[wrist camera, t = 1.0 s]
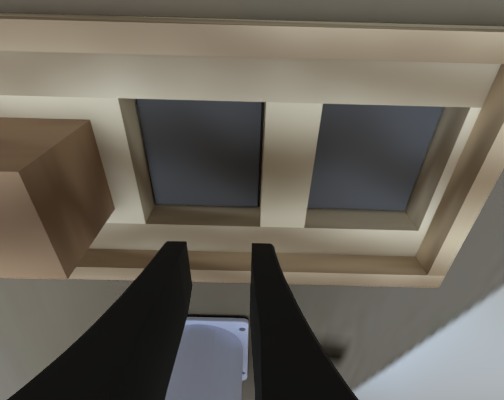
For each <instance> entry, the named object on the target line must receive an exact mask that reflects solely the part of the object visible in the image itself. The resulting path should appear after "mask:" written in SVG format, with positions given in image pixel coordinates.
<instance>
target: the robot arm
mask: <svg viewBox="0 0 504 400" xmlns="http://www.w3.org/2000/svg"><path fill="white" fill-rule="evenodd" d="M191 290H192V280H191V272H190V264H189V256H188V249H187V241H167V242H166V243H164V245H163V246H162V247H161V249H160V250H159V251H158V252H157V254H156V255H155V256H154V257H153V259H152V260H151V261H150V262H149V264H148V265H147V266H146V267H145V268H144V270H143V271H142V272H141V273H140V275H139V276H138V277H137V278H136V279H135V280H134V281H133V283H132V284H131V285H130V286H129V287H128V288H127V289H126V291H125V292H124V293H123V294H122V295H121V296H120V297H119V298H118V299H117V301H116V302H115V303H114V304H113V305H112V306H111V307H110V308H109V309H108V310H107V311H106V312H105V313H104V314H103V315H102V316H101V317H100V318H99V319H98V320H97V321H96V322H95V323H94V324H93V325H92V326H91V327H90V328H89V329H88V330H87V331H86V332H85V333H84V334H83V335H82V336H81V337H80V338H79V339H78V340H77V341H76V342H75V343H73V344H72V345H71V346H70V347H69V348H68V349H67V350H66V351H65V352H64V353H63V354H61V355H60V356H59V357H58V358H57V359H56V360H54V361H53V362H52V363H51V364H50V365H49V366H47V367H46V368H45V369H44V370H43V371H42V372H40V373H39V374H38V375H37V376H36V377H35V378H33V379H32V380H31V381H30V382H29V383H27V384H26V385H25V386H24V387H22V388H21V389H20V390H19V391H17V392H16V393H15V394H14V395H12V396H11V397H10V398H9V399H7V400H242V381H243V380H246V379H247V364H248V327H249V322H248V320H247V319H245V318H216V317H187V315H188V309H189V303H190V297H191ZM250 327H251V341H252V355H253V369H254V383H255V400H358V398H357V397H356V396H355V394H354V393H353V392H352V390H351V389H350V388H349V386H348V385H347V384H346V382H345V381H344V379H343V378H342V376H341V375H340V374H339V372H338V371H337V369H336V368H335V366H334V365H333V363H332V362H331V360H330V359H329V357H328V356H327V354H326V353H325V351H324V350H323V348H322V346H321V345H320V343H319V342H318V340H317V338H316V337H315V335H314V333H313V332H312V330H311V328H310V326H309V325H308V323H307V321H306V319H305V317H304V316H303V314H302V312H301V310H300V308H299V306H298V304H297V302H296V300H295V298H294V296H293V294H292V292H291V290H290V288H289V286H288V284H287V281H286V279H285V277H284V274H283V272H282V269H281V267H280V264H279V261H278V258H277V255H276V252H275V248H274V246H273V245H272V244H270V243H252V253H251V286H250Z"/></svg>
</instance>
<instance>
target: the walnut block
mask: <svg viewBox="0 0 504 400" xmlns="http://www.w3.org/2000/svg"><path fill="white" fill-rule="evenodd" d="M114 210H115V207H114V203H113V200H112V196H111V193H110V189H109V186H108V182H107V179H106V175H105V171H104V168H103V164H102V161H101V157H100V154H99V150H98V146H97V143H96V139H95V136H94V132H93V129H92V125H91V122H90V120H84V119H45V118H7V117H0V278H30V279H68V278H69V277H70V275H71V274H72V272H73V271H74V269H75V268H76V266H77V265H78V263H79V262H80V260H81V259H82V257H83V256H84V254H85V253H86V251H87V250H88V248H89V247H90V245H91V244H92V243H93V241H94V240H95V238H96V237H97V235H98V234H99V232H100V231H101V229H102V228H103V226H104V225H105V223H106V222H107V220H108V219H109V217H110V216H111V214H112V213H113V211H114Z"/></svg>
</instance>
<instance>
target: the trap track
mask: <svg viewBox="0 0 504 400" xmlns="http://www.w3.org/2000/svg"><path fill="white" fill-rule="evenodd" d="M136 100H137V104H136ZM262 102H264V124H263V146H262V168H261V191H260V207H258V181H259V156H260V131H261V106H262ZM137 105H138V109H137ZM138 111H139V114H138ZM139 116H140V120H139ZM0 117H7V118H45V119H84V120H90V122H91V125H92V129H93V132H94V136H95V139H96V143H97V146H98V150H99V154H100V157H101V161H102V164H103V168H104V171H105V175H106V179H107V182H108V186H109V189H110V193H111V196H112V200H113V203H114V207H115V210H114V211H113V213H112V214H111V216H110V217H109V219H108V220H107V222H106V223H105V225H104V226H103V228H102V229H101V231H100V232H99V234H98V235H97V237H96V238H95V240H94V241H93V243H92V244H91V245H90V247H89V248H88V250H87V251H86V253H85V254H84V256H83V257H82V259H81V260H80V262H79V263H78V265H77V266H76V268H75V269H74V271H73V272H72V274H71V275H70V277H69V278H68V279H99V280H135V279H136V278H137V277H138V276H139V275H140V273H141V272H142V271H143V270H144V268H145V267H146V266H147V265H148V264H149V262H150V261H151V260H152V259H153V257H154V256H155V255H156V254H157V252H158V251H159V250H160V249H161V247H162V246H163V245H164V243H166V242H167V241H187V249H188V256H189V264H190V272H191V280H192V282H222V283H251V253H252V243H270V244H272V245H273V246H274V248H275V252H276V255H277V258H278V261H279V264H280V267H281V269H282V272H283V274H284V277H285V279H286V281H287V284H304V285H345V286H386V287H428V288H439V286H440V284H441V283H442V281H443V279H444V277H445V275H446V273H447V272H448V270H449V268H450V266H451V264H452V262H453V261H454V259H455V257H456V255H457V253H458V251H459V250H460V248H461V246H462V244H463V242H464V240H465V238H466V237H467V235H468V233H469V231H470V229H471V227H472V226H473V224H474V222H475V220H476V218H477V216H478V215H479V213H480V211H481V209H482V207H483V205H484V204H485V202H486V200H487V198H488V196H489V194H490V193H491V191H492V189H493V187H494V185H495V183H496V182H497V180H498V178H499V176H500V174H501V172H502V171H503V169H504V26H472V25H435V24H397V23H360V22H323V21H286V20H249V19H212V18H175V17H138V16H101V15H64V14H27V13H0ZM140 122H141V125H140ZM141 127H142V130H141ZM142 132H143V136H142ZM143 138H144V141H143ZM144 143H145V146H144ZM145 148H146V152H145ZM146 154H147V157H146ZM147 159H148V162H147ZM148 164H149V168H148ZM149 170H150V173H149ZM150 175H151V178H150ZM151 180H152V184H151ZM152 186H153V189H152ZM153 191H154V194H153ZM154 197H155V200H154ZM155 202H156V204H155Z"/></svg>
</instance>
